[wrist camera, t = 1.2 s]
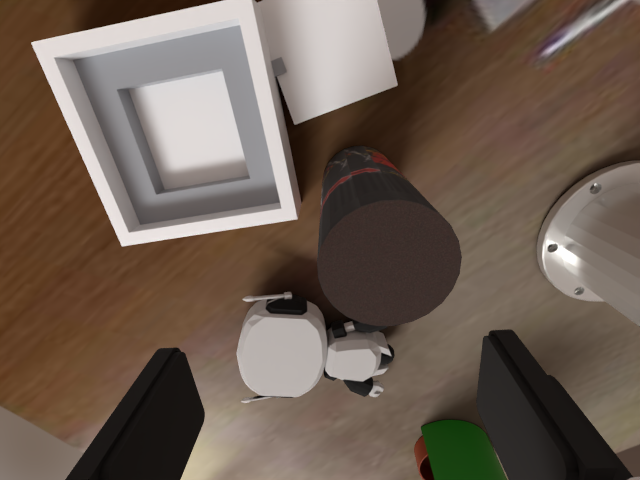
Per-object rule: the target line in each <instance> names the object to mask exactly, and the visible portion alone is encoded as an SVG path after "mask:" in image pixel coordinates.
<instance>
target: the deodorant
mask: <svg viewBox="0 0 640 480" xmlns="http://www.w3.org/2000/svg"><path fill="white" fill-rule="evenodd" d="M461 258H462V256H461V251H460V245H459V240H458V238H457V236H456V234H455V233H454V231H453V229H452V227H451V225H450V224H449V223H448V222H447V221H446V220H445V219H444V218H443V217H442V216H441V215H440V214H439V212H438V211H437V210H436V209H435V208H434V207H433V206H432V205H431V204H430V203H429V202H428V201H427V200H426V199H425V198H424V197H423V196H422V195H421V194H420V192H419V191H418V190H417V189H416V188H415V187H414V186H413V185H412V184H411V183H410V182H409V181H408V180H407V179H406V178H405V177H404V176H403V175H402V174H401V172H400V171H399V170H398V169H397V168H396V167H395V166H394V165H393V164H392V163H391V162H390V161H389V160H388V159H387V158H386V157H385V156H384V155H383V154H382V153H381V152H379V151H378V150H376V149H374V148H371V147H367V146H352V147H349V148H346V149H343V150H342V151H340V152H339V153H337V154H336V155H335V156H334V157H333V158H332V159H331V160H330V161H329V163H328V165H327V167H326V169H325V171H324V176H323V182H322V197H321V212H320V228H319V243H318V258H317V267H318V280H319V282H320V285H321V288H322V290H323V293H324V295H325V296H326V297H327V299H328V300H329V301H330V303H331V304H332V305H333V307H335V308H336V309H337V310H339V311H340V312H341V313H342V314H344V315H345V316H346V317H349V318H351V319H353V320H356V321H358V322H360V323H364V324H369V325H375V326H396V325H400V324H404V323H408V322H412V321H414V320H416V319H419V318H421V317H423V316H425V315H427V314H429V313H430V312H431V311H432V310H434V309H435V308H436V307H437V306H439V305H440V304H441V303H442V302H443V301H444V300H445V298H446V297H447V296H448V295H449V293H450V292H451V291H452V289H453V287H454V285H455V283H456V280H457V278H458V276H459V274H460V266H461Z"/></svg>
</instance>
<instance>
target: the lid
mask: <svg viewBox="0 0 640 480" xmlns="http://www.w3.org/2000/svg"><path fill="white" fill-rule="evenodd" d="M257 4H258V5H259V6H260V8H261V11H262V16H263V21H264V26H265V31H266V36H267V41H268V46H269V51H270V56H271V63H272V68H273V73H274V77H277V79H278V81H279V84H280V87H281V89H282V92H283V95H284V98H285V100H286V103H287V106H288V108H289V111H290V114H291V117H292V119H293V122H294V125H296V124H298V123H301V122H303V121H306V120H309V119H311V118H314V117H317V116H319V115H322V114H324V113H327V112H330V111H332V110H335V109H338V108H340V107H343V106H345V105H348V104H351V103H353V102H356V101H359V100H361V99H364V98H366V97H369V96H372V95H374V94H377V93H380V92H382V91H385V90H387V89H390V88H393V87H395V86H398V84H397V79H396V75H395V71H394V67H393V63H392V59H391V55H390V51H389V46H388V42H387V38H386V34H385V30H384V26H383V22H382V18H381V14H380V9H379V5H378V1H377V0H262V1H260V2H258V3H257Z"/></svg>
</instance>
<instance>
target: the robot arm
mask: <svg viewBox="0 0 640 480" xmlns="http://www.w3.org/2000/svg"><path fill="white" fill-rule="evenodd" d="M537 259H538V263H539V266H540V269H541V271H542V272H543V274H544V276H545V277H546V279H547V280H548V281H549V282H550V283H552V284H553V285H554V286H555V287H556V288H557V289H559V290H560V291H561V292H563V293H564V294H566V295H568V296H570V297H573V298H576V299H580V300H585V301H606V302H607V303H608V304H610V305H611V306H612V307H614V308H615V309H616V310H618V311H619V312H620V313H622V314H623V315H624V316H626V317H627V318H629V319H630V320H631V321H633V322H634V323H635V324H637V325H638V326H639V327H640V161H639V160H635V161H628V162H622V163H617V164H614V165H611V166H608V167H605V168H602V169H600V170H598V171H596V172H594V173H592V174H590V175H588V176H587V177H585V178H584V179H582V180H581V181H579V182H578V183H576V184H575V185H574V186H572V187H571V188H570V189H569V190H568V191H567V192H566V193H565V194H564V195H563V196H561V197H560V199H559V200H558V201H557V202H556V204H555V205H554V206H553V207H552V209H551V210H550V212H549V213H548V215H547V217H546V219H545V220H544V222H543V225H542V227H541V230H540V233H539V236H538V243H537ZM476 403H477V409H478V412H479V415H480V417H481V419H482V421H483V423H484V426H485V428H486V430H487V432H488V435H489V437H490V439H491V441H492V443H493V446H494V448H495V450H496V452H497V454H498V457H499V459H500V461H501V463H502V465H503V468H504V470H505V472H506V474H507V477H508V479H509V480H640V477H633V476H632V475H631V473H630V472H629V471H628V470H627V468H626V467H625V466H624V465H623V463H622V462H621V461H620V459H619V458H618V457H617V456H616V454H615V453H614V452H613V450H612V449H611V448H610V447H609V445H608V444H607V443H606V441H605V440H604V439H603V438H602V436H601V435H600V434H599V433H598V431H597V430H596V429H595V427H594V426H593V425H592V424H591V422H590V421H589V420H588V418H587V417H586V416H585V415H584V413H583V412H582V411H581V410H580V408H579V407H578V406H577V404H576V403H575V402H574V401H573V399H572V398H571V397H570V396H569V394H568V393H567V392H566V390H565V389H564V388H563V387H562V385H561V384H560V383H559V382H558V381H557V380H556V379H555V378H554V377H553V376H551V375H547V374H546V373H545V372H544V370H543V369H542V368H541V366H540V365H539V364H538V363H537V361H536V360H535V359H534V357H533V356H532V355H531V353H530V352H529V351H528V349H527V348H526V347H525V345H524V344H523V343H522V341H521V340H520V339H519V338H518V336H517V335H516V334H515V332H514V331H513V330H493V331H490V332H489V336H484V338H483V344H482V353H481V363H480V372H479V381H478V390H477V399H476ZM204 417H205V412H204V408H203V405H202V402H201V399H200V396H199V393H198V390H197V387H196V384H195V381H194V378H193V375H192V372H191V369H190V366H189V364H188V361H187V358H186V355H185V353H184V352H181V351H180V349H179V348H161V349H158V350H157V351H156V352H155V354H154V355H153V356H152V358H151V359H150V361H149V362H148V364H147V365H146V366H145V368H144V369H143V371H142V372H141V373H140V375H139V376H138V378H137V379H136V381H135V382H134V383H133V385H132V386H131V388H130V389H129V390H128V392H127V393H126V395H125V396H124V397H123V399H122V400H121V402H120V403H119V405H118V406H117V407H116V409H115V410H114V412H113V413H112V414H111V416H110V417H109V419H108V420H107V422H106V423H105V424H104V426H103V427H102V429H101V430H100V431H99V433H98V434H97V436H96V437H95V438H94V440H93V441H92V443H91V444H90V446H89V447H88V448H87V450H86V451H85V453H84V454H83V456H82V457H81V458H80V460H79V461H78V463H77V464H76V465H75V467H74V468H73V470H72V471H71V472H70V474H69V475H68V477H67V478H66V479H65V480H180V479H181V477H182V474H183V472H184V469H185V467H186V464H187V462H188V459H189V457H190V454H191V452H192V450H193V447H194V445H195V442H196V440H197V437H198V435H199V432H200V430H201V427H202V425H203V422H204Z"/></svg>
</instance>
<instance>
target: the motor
mask: <svg viewBox="0 0 640 480" xmlns="http://www.w3.org/2000/svg"><path fill="white" fill-rule="evenodd" d="M421 430H422V434H423V436H422V437H421V438H420V439H419V440H418V441H417V442H416V444H415V448H414V452H415V457H416V461H417V466H418V470H419V474H420V476H421V478H422V479H423V480H507V478H506V476H505V474H504V472H503V469H502V467H501V465H500V463H499V460H498V458H497V456H496V454H495V452H494V449H493V447H492V445H491V443H490V440H489V438H488V436H487V434H486V433H485V432H484V431H483V430H482V429H481V428H479V427H478V426H476V425H474V424H472V423H469V422H465V421H460V420H442V421H436V422H432V423H429V424H427V425H424V426H422V427H421Z"/></svg>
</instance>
